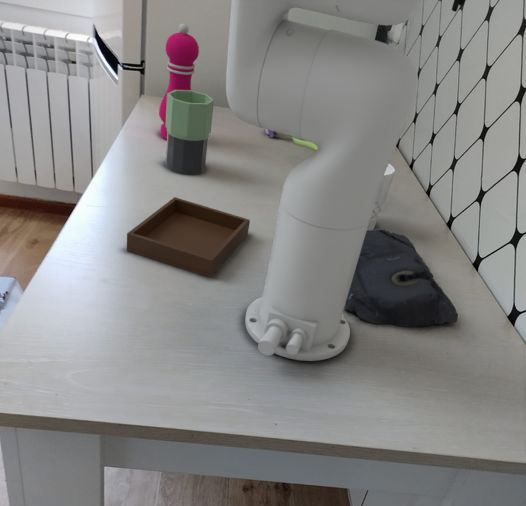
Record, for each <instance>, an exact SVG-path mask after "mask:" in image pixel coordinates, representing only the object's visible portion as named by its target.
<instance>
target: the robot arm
mask: <svg viewBox="0 0 526 506" xmlns="http://www.w3.org/2000/svg"><path fill="white" fill-rule="evenodd" d="M423 2H424V0H231V1H230V3H231V4H230V17H229V19H230V20H229V30H228V43H227V55H226V70H225V71H226V73H225V91H226V99H227V104H228V107H229V108H230V109H229V110H231V113H232V114H233V116H235V117H236V118H237V119H238V120H241V121H242V122H244V123H246V124H248V125H251V126H255V127H257V128H262V129H264V130H265V129H268V130H271V131H275V132H276V133H279V134H283V135H287V136H290V137H292V136H294V137H297V138H301V139H300V140H303V141H308V142H311V143H314V144H315V145H316V146H317V147H318V149H317V150H316V151H314V152H311V154H310V155H308V156H307V157H305V158H304V159H302V160H300V162H299V163H297V164H296V165H295V166H294V167H293V168H292V170H290V171H289V173H288V175H287V176H286V178H285V181H284V183H283V186H282V188H281V195H280V199H279V204H278V205H279V206H278V212H277V216H276V221H275V227H274V232H273V237H272V243H271V249H270V253H269V258H268V265H267V270H266V275H265V281H264V287H263V291H262V296H260V297H258V298H256V299H254V300H253V301H251V302H250V304H249V305H248V307H247V309H246V312H245V316H244V317H245V319H244V325H245V328H246V330H247V333H248V334H249V336H250V337H251V338H252V340H253V341H254V342H255V343H257V349H258V352H259V353H260V354H261V355H263V356H265V357H269V356H272V355H274V354H275V355H278V356H279V357H284V358H285V359H290V360H295V361H303V362H315V361H323V360H327V359H331V358H333V357H335V356H338V355H339V354H340V353H342V352H343V351H344V350H345V349H346V347H347V345H348V343H349V340H350V337H351V336H350V334H351V329H350V325H349V322H348V321H347V319H346V318H345V315H343V313H344V311H345V308H344V307H345V303H346V300H347V296H348V293H349V290H350V286H351V283H352V279H353V276H354V272H355V269H356V266H357V262H358V259H359V255H360V252H361V248H362V245H363V242H364V238H365V235H366V231H367V228H368V224H369V221H370V218H371V214H372V211H373V208H374V204H375V201H376V198H377V195H378V192H379V189H380V185H381V182H382V179H383V177H384V174H385V171H386V169H387V166H388V164H390V162H391V159H392V156H393V154H394V151H395V149H396V147H397V145H398V143H399V140H400V138H401V136H402V134H403V131H404V130H405V127H406V125H407V123H408V121H409V118H410V116H411V115H412V110H413V108H414V106H415V103H416V99H417V96H418V95H417V94H418V91H419V75H418V71H417V69H416V65H415V64H414V63H413V61H412V60H411V58H410V57H408V56H407V54H405V53H404V52H403V51H401V50H400V49H398V48H397V47H394V46H393V45H390V44H388V43H385V42H382V41H380V40H376V39H372V38H369V37H365V36H361V35H356V34H352V33H348V32H344V31H339V30H335V29H328V28H327V29H326V28H323V27H318V26H313V25H310V24H309V25H308V24H305V23H301V22H296V21H293V20H289V13H290V10H291V9H302V10H307V11H311V12H315V13H320V14H323V15H328V16H333V17H336V18H341V19H345V20H349V21H355V22H359V23H364V24H369V25H377V26H397V25H401V24H404V23H406V22H407V21H409V20H410V19H412V18H413V17H414V16H415V15H416V13H417V12H418V10H419V9H420V8H421V5H422V3H423ZM465 3H466V0H453V3H452V6H451V11H452V12H455V13H457V11H458V9H459V6H461V7H462V6H465Z"/></svg>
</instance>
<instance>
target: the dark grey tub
mask: <svg viewBox="0 0 526 506" xmlns="http://www.w3.org/2000/svg"><path fill="white" fill-rule="evenodd" d="M208 141H209V137H208V138H207V139H205V140H199V141H190V140H183V139H179V138H176V137H173V136H171V135H170V134H168V132H167V139H166V151H165V166H166V168H167V169H168V170H170V171H171V172H174V173H177V174H181V175H188V176H189V175H190V176H191V175H199V174H202V173H203V172H204V171H205V169H206V164H207V163H206V162H207V151H208V144H209V143H208Z"/></svg>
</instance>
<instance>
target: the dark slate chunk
mask: <svg viewBox="0 0 526 506" xmlns="http://www.w3.org/2000/svg"><path fill="white" fill-rule="evenodd" d="M344 310H347V311H348V312H350V313H352V314H356V315H357V316H358V317H359V320H360V321H362V322H364V323H365V322H366V323H367V322H369V323H370V324H378V325H383V324H390V325H395V326H404V327H411V328H412V327H413V328H424V327H429V326H431V325H436V326H438V325H439V324H444V323H445V322H446V323H457V322H458V319H459V313H458V312H457V310H456V307H455V306H454V304H453V303H452V300H451V299H450V298H449V296H448V295H447V294H446V293H445V292H444V290H443V289H442V287H441V286H440V285H439V284H438V283H437V282H436V280H435V279H434V275H433V273H432V272H431V269H430V268H429V267H428V266H427V264H426V263H425V261H424V260H423V257H421V255H420V254H419V253H418V252H417V249H416V247H415V246H414V243H413V242H412V241H411V239H410V238H408V236H406V235H405V234H401V233H396V232H391V231H390V230H387V229H379V228H378V229H373V230H370V231H366V235H365V238H364V242H363V245H362V248H361V252H360V255H359V259H358V262H357V266H356V269H355V272H354V276H353V279H352V283H351V286H350V290H349V293H348V296H347V300H346V303H345V307H344Z"/></svg>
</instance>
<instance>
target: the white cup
mask: <svg viewBox="0 0 526 506" xmlns="http://www.w3.org/2000/svg"><path fill="white" fill-rule="evenodd" d="M395 172H396V169H395V167H394V166H393V165H392V164H390V163H389V164H388V166H387V169H386V171H385V174H384V177H383V179H382V182H381V185H380V189H379V192H378V195H377V198H376V201H375V204H374V208H373V211H372V214H371V218H370V221H369V224H368V228H367V231H370V230H375V227H376V224H377V221H378V218H379V215H380V214H381V212H382V209H383V206H384V203H385V200H386V198H387V196H388V192H389V189H390V188H391V184H392V181H393V178H394V175H395Z"/></svg>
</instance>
